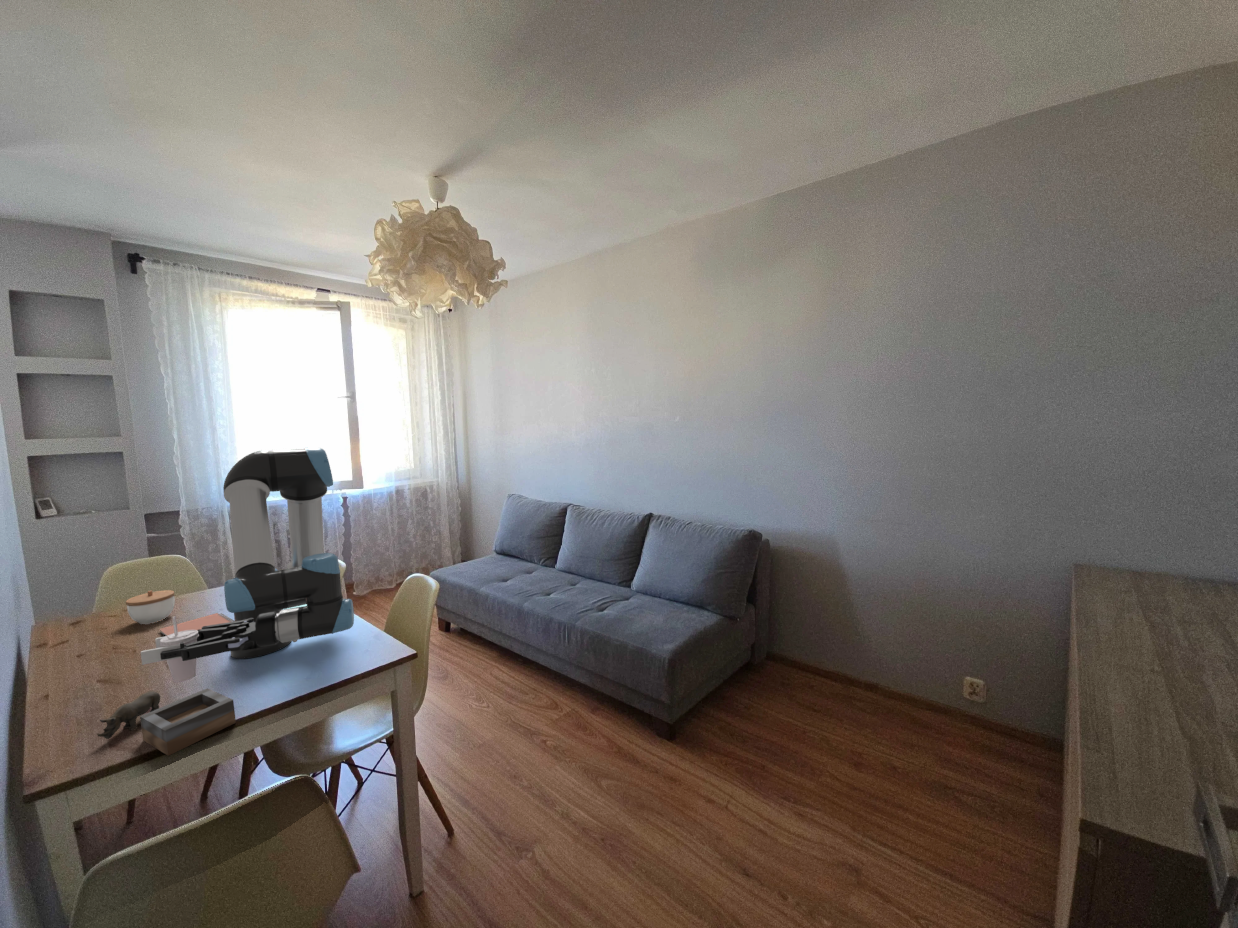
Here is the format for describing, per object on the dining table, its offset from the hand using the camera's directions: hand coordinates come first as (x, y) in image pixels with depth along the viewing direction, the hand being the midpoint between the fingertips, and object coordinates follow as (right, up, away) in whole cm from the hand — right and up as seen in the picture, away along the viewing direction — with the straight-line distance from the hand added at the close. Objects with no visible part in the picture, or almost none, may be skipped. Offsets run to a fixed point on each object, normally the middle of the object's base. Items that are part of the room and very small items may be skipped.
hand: (149, 650), depth 103 cm
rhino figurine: (-10, -20, +6) cm, 24 cm away
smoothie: (+5, -7, +3) cm, 9 cm away
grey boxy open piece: (+5, -19, +4) cm, 21 cm away
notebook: (-39, -17, +59) cm, 73 cm away
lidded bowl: (-68, -17, +71) cm, 100 cm away
